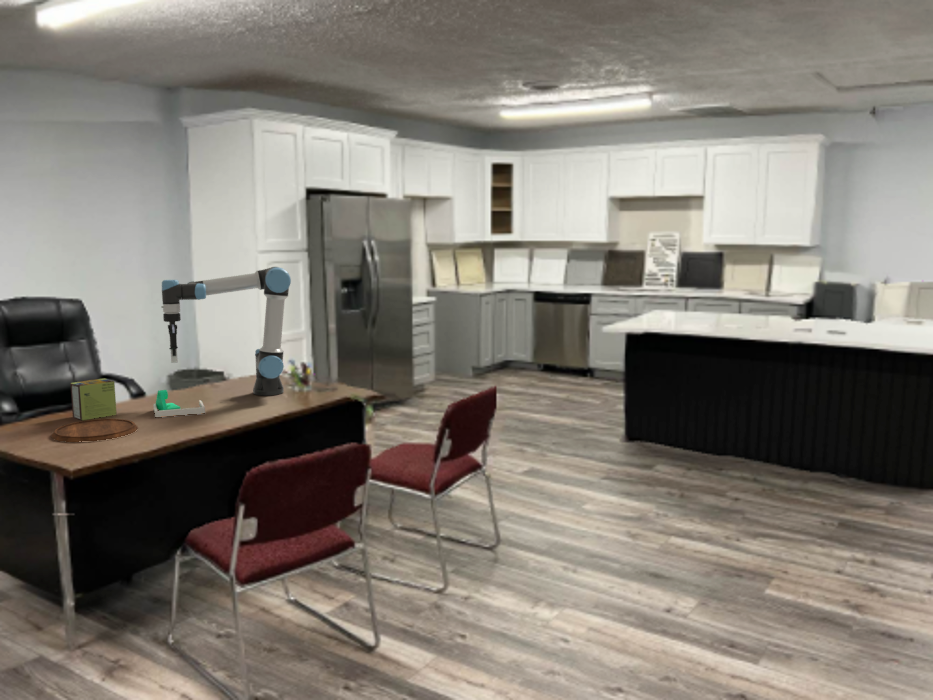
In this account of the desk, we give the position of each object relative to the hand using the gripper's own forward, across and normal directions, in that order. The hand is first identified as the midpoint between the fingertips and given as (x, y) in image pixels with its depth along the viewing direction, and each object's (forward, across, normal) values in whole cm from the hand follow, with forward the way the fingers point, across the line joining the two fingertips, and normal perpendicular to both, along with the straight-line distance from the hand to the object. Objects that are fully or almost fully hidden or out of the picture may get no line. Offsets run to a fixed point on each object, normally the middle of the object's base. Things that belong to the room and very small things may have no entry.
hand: (174, 362), depth 368 cm
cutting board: (+21, +43, -34) cm, 59 cm away
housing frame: (+20, +18, 0) cm, 27 cm away
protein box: (+20, +11, -35) cm, 42 cm away
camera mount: (+21, +14, -4) cm, 25 cm away
